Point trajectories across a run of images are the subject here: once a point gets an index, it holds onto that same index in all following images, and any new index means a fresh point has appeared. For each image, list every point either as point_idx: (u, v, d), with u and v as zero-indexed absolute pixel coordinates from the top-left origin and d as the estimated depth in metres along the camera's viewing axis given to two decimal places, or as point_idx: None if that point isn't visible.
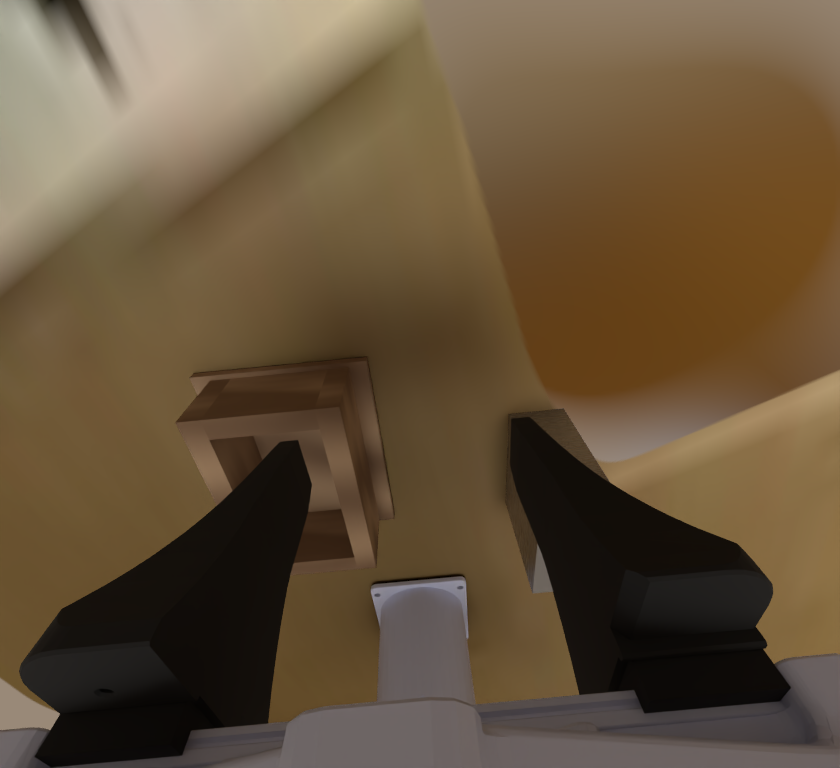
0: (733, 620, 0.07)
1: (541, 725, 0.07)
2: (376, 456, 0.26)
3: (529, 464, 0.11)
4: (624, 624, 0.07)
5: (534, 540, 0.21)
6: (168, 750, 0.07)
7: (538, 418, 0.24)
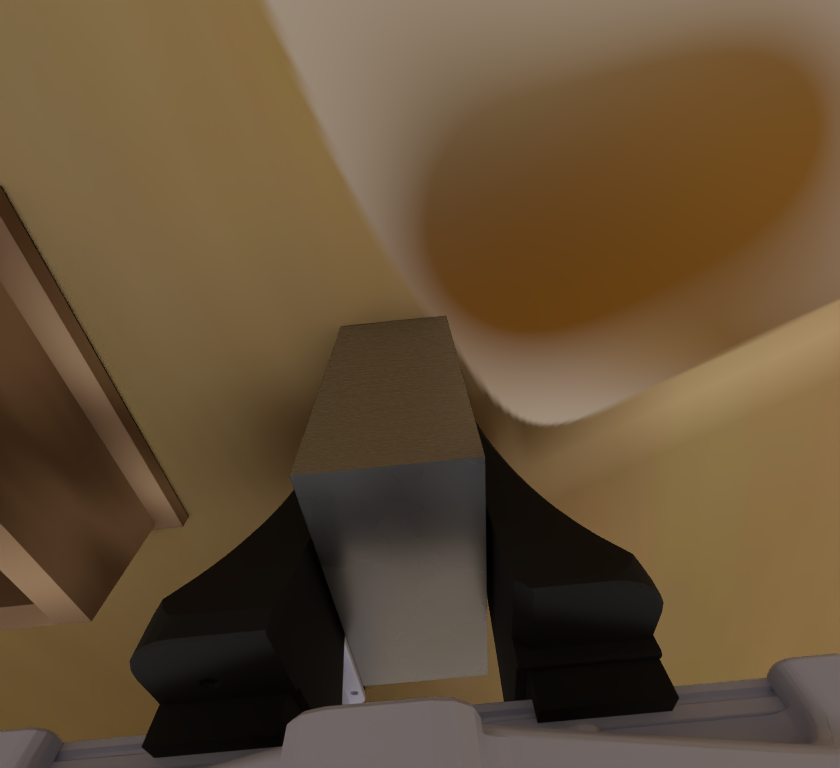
0: (628, 630, 0.07)
1: (541, 725, 0.07)
2: (101, 410, 0.14)
3: None
4: (522, 634, 0.07)
5: None
6: (273, 741, 0.07)
7: (390, 330, 0.12)
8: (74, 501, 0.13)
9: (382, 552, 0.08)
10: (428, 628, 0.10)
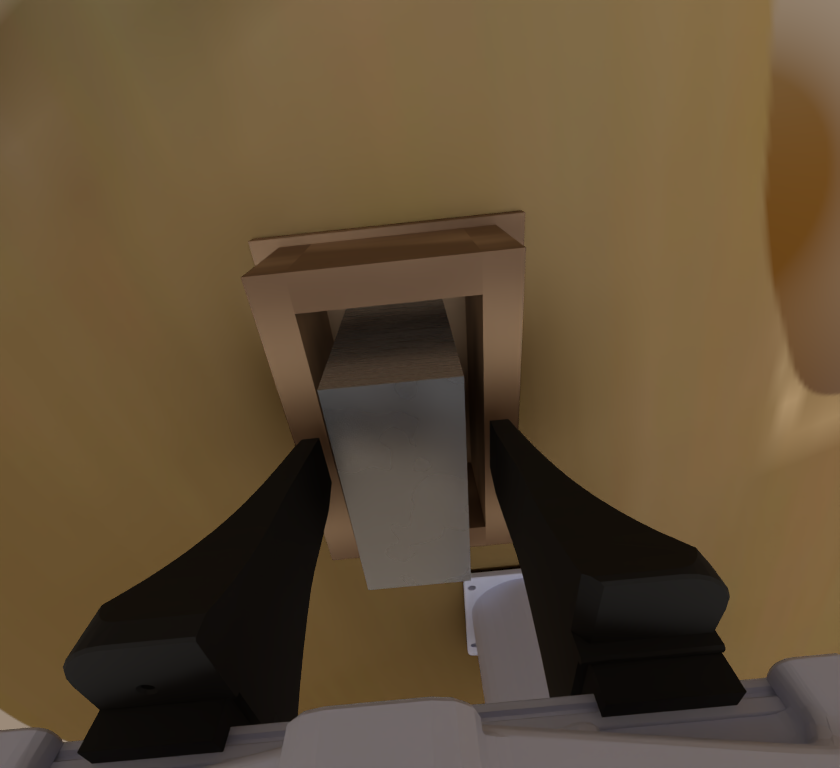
0: (691, 624, 0.07)
1: (541, 725, 0.07)
2: None
3: (504, 466, 0.11)
4: (583, 628, 0.07)
5: None
6: (210, 746, 0.07)
7: None
8: None
9: (386, 459, 0.11)
10: (421, 533, 0.12)
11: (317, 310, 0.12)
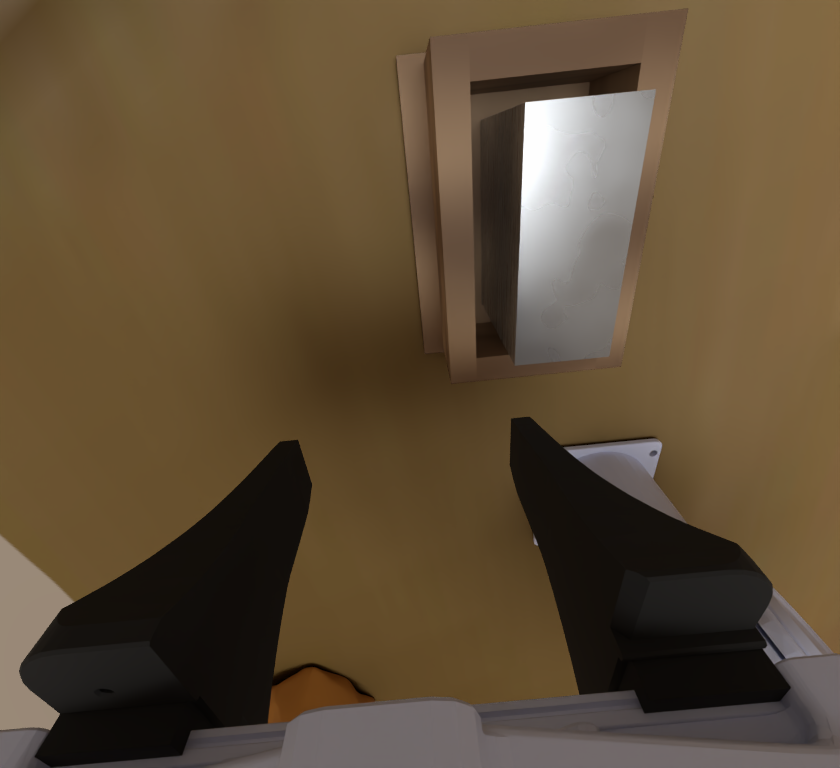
0: (733, 620, 0.07)
1: (541, 725, 0.07)
2: None
3: (529, 464, 0.11)
4: (624, 624, 0.07)
5: (515, 247, 0.13)
6: (168, 750, 0.07)
7: None
8: None
9: (566, 193, 0.12)
10: (577, 291, 0.13)
11: (491, 77, 0.13)
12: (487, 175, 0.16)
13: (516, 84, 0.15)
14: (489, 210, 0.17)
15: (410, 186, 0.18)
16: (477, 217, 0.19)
